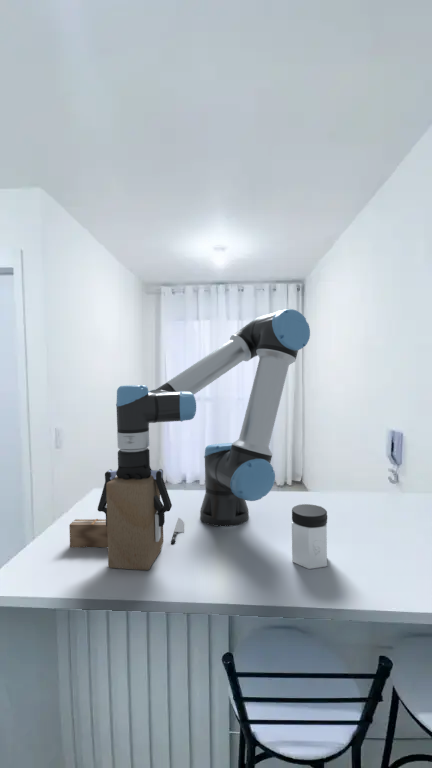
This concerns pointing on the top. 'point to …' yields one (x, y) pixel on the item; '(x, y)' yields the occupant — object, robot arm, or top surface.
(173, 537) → the chef's knife
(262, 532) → the top surface
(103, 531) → the brown wooden bar
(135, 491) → the wooden block
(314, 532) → the jar
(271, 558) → the top surface
